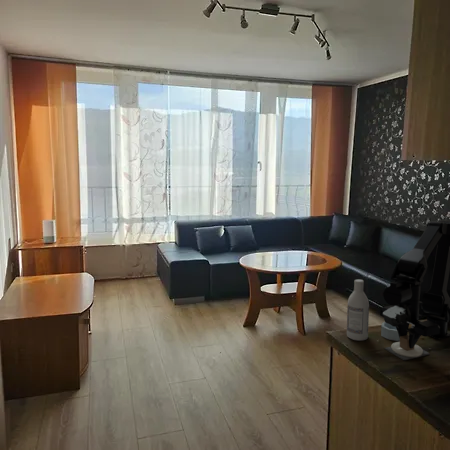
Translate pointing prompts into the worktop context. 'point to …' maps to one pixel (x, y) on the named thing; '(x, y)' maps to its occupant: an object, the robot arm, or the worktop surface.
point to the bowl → (389, 332)
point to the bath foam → (358, 313)
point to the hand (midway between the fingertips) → (407, 345)
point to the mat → (404, 356)
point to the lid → (406, 348)
